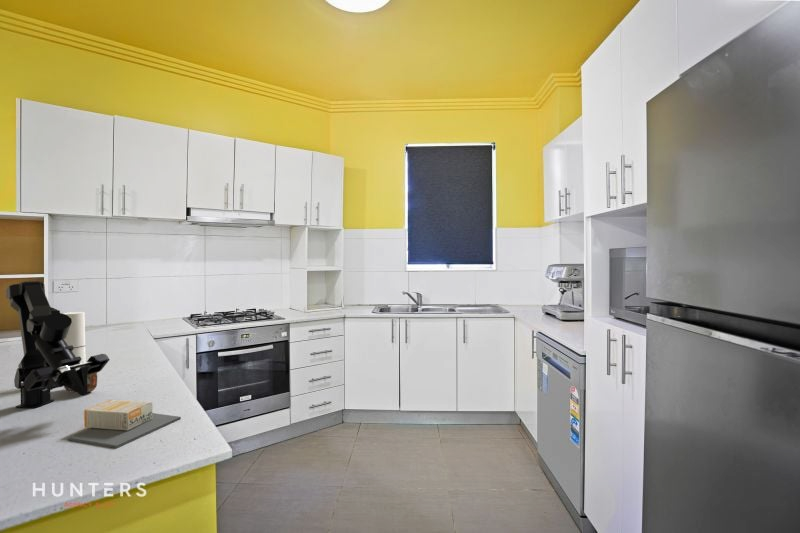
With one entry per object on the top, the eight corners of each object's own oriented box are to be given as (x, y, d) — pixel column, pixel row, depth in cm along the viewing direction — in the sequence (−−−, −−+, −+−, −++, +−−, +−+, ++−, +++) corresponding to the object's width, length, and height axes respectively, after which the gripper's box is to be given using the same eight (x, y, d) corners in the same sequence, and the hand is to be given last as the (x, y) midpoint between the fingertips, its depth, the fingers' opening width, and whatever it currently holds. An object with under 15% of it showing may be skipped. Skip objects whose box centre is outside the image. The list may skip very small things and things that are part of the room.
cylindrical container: (58, 384, 144) (57, 314, 143) (64, 379, 150) (62, 312, 150) (83, 381, 147) (82, 313, 147) (88, 376, 153) (86, 311, 153)
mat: (68, 439, 98) (68, 437, 98) (136, 413, 115) (136, 410, 115) (116, 448, 93) (116, 445, 93) (180, 418, 110) (180, 416, 110)
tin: (61, 390, 137) (61, 365, 137) (71, 387, 140) (71, 363, 140) (89, 395, 132) (88, 369, 131) (99, 392, 134) (99, 367, 134)
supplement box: (83, 428, 103) (127, 431, 101) (83, 409, 103) (127, 412, 101) (112, 416, 111) (153, 419, 109) (111, 399, 111) (153, 401, 109)
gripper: (77, 361, 122) (104, 401, 119) (0, 379, 104) (30, 426, 101) (96, 337, 119) (124, 377, 116) (21, 351, 102) (52, 399, 99)
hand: (85, 394), depth 108 cm, fingers closed
